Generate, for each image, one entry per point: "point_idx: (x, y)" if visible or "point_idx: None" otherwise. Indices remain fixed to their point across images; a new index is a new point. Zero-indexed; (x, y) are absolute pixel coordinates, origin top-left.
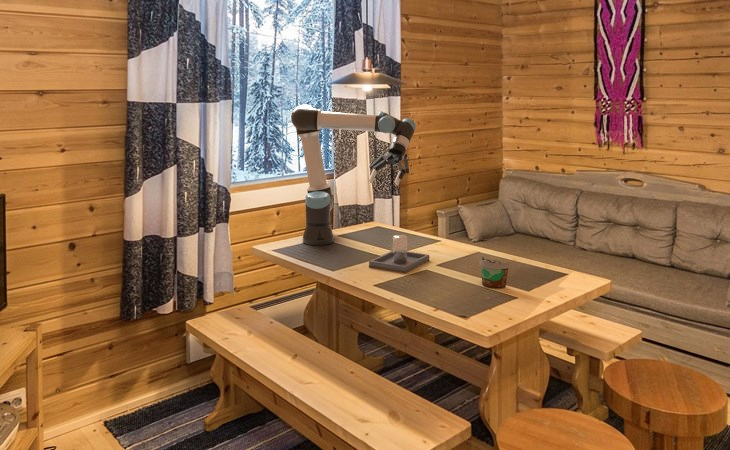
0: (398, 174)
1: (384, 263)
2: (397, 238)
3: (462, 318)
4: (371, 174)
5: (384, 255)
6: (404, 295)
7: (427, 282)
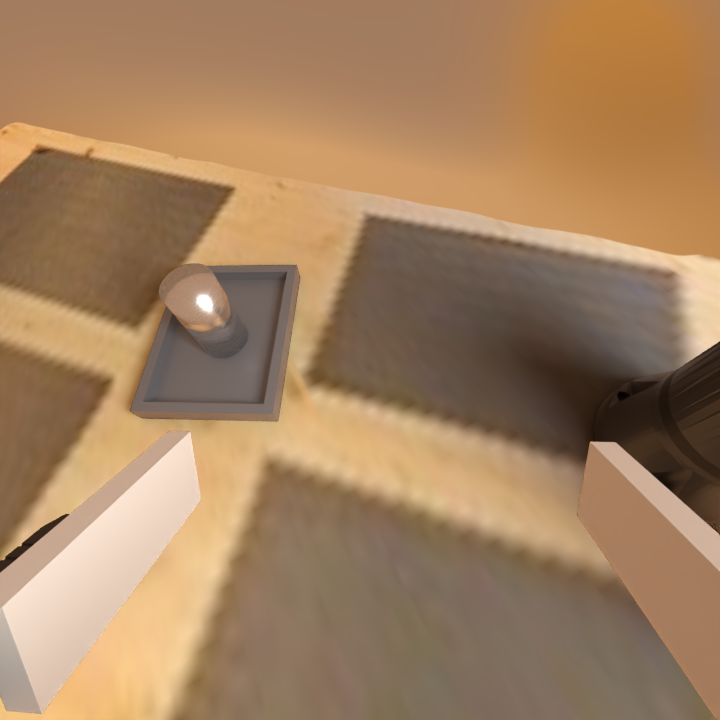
0: (71, 524)
1: (245, 267)
2: (191, 265)
3: (43, 145)
4: (679, 510)
5: (277, 331)
6: (156, 175)
7: (120, 249)
